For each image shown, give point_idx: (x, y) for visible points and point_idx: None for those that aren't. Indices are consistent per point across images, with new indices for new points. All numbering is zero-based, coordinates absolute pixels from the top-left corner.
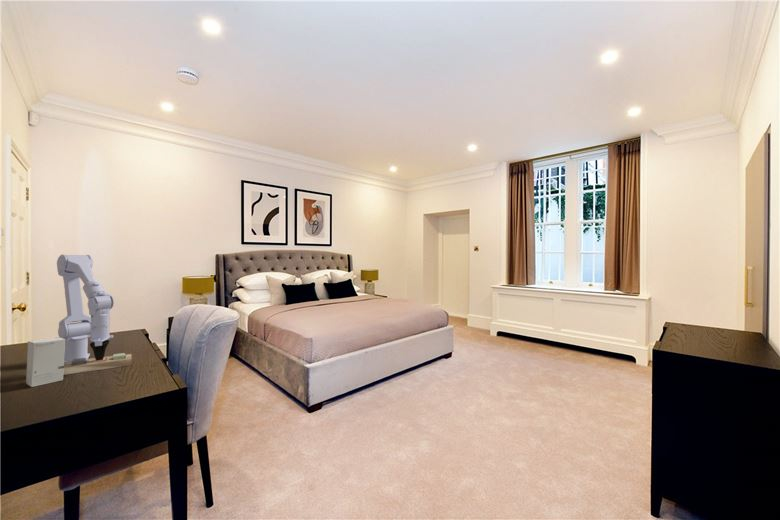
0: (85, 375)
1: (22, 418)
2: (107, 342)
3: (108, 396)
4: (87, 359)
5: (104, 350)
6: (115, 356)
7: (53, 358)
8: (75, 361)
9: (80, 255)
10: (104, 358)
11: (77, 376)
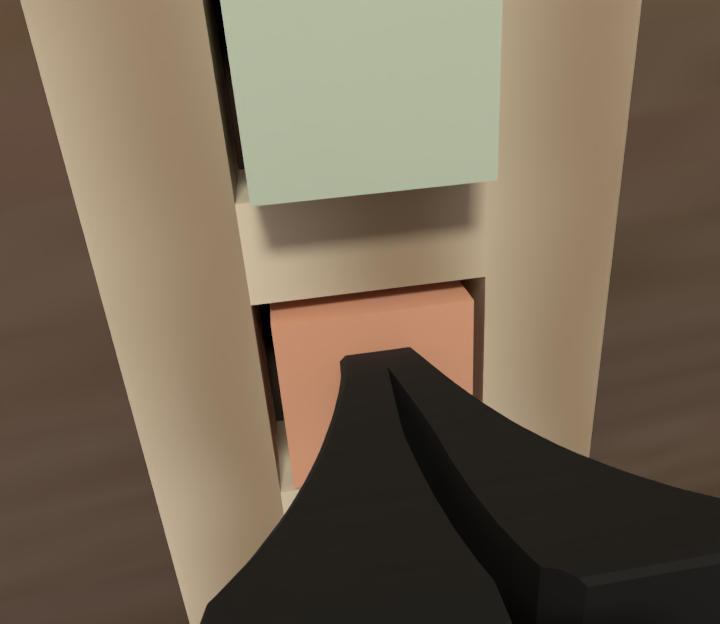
0: (708, 395)
1: None
2: (655, 612)
3: None
4: (210, 569)
5: (541, 449)
6: (494, 128)
7: None
8: None
9: None
10: (322, 337)
11: (687, 462)
